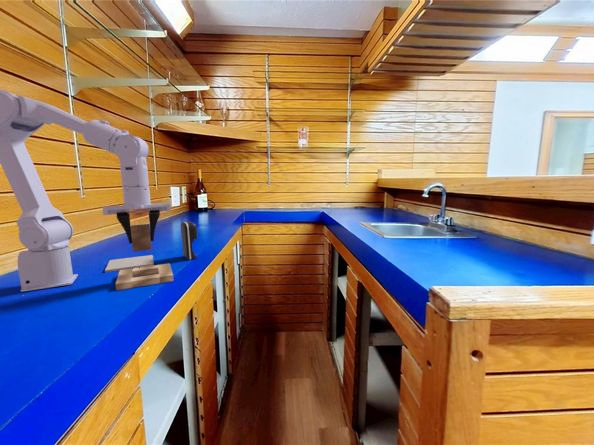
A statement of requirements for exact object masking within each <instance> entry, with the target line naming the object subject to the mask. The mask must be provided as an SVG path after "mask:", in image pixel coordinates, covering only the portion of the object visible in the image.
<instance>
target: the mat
mask: <svg viewBox="0 0 594 445" xmlns="http://www.w3.org/2000/svg"><path fill="white" fill-rule="evenodd" d="M147 266H154V256H153V254H150V255H143V256H142V255H141V256H133V257H125V258H117V259H116V258H115V259H110V260H109V261H108V263H107V266H106V267H105V269H104V272H105V273H111V272H118V271H120V270H126V269H132V268H139V267H147Z"/></svg>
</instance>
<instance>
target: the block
mask: <svg viewBox="0 0 594 445" xmlns="http://www.w3.org/2000/svg"><path fill="white" fill-rule="evenodd" d="M130 226H131V236H132V243H131V244H132V252H134V253H137V252H145V251H152V241H151V238H150V223H143V224H132V225H131V224H130Z"/></svg>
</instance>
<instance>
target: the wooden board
mask: <svg viewBox="0 0 594 445" xmlns="http://www.w3.org/2000/svg"><path fill="white" fill-rule="evenodd" d="M118 271H119V272H118V274H117V278H116V281H115V291H122V290H127V289H134V288H138V287H139V288H140V287H147V286H150V285H156V284H157V285H158V284H163V283H169V282H174V274H173V273H174V272H173V270H172V267H171V263H163V264H156V265H154V266H147V267H140V268H133V269H125V270H118Z"/></svg>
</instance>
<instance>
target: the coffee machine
mask: <svg viewBox="0 0 594 445" xmlns="http://www.w3.org/2000/svg"><path fill="white" fill-rule="evenodd" d="M180 230H181V231H180V232H181V234H180V235H181V242H182V243H181V244H182V254H183V256H184V258H186V259H187V260H194V259H197V257H198V254H196V253H194V251H193V243H194V241H195V240H198V238H199V236H198V229H197V225H196V224H195V223H194V222H192V221H182V222H181V223H180Z"/></svg>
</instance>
